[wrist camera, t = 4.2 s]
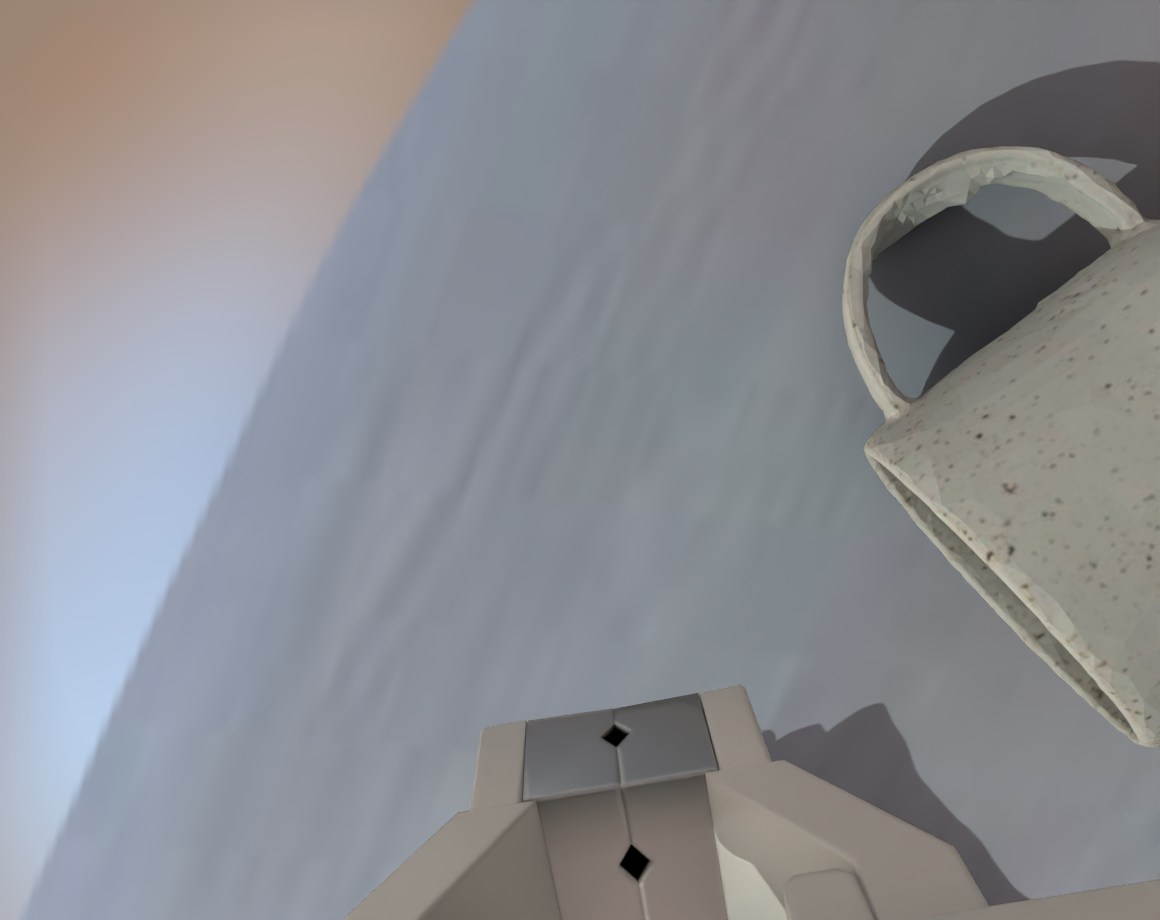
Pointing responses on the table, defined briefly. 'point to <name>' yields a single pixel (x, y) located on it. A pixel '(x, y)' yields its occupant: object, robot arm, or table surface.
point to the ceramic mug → (1041, 437)
